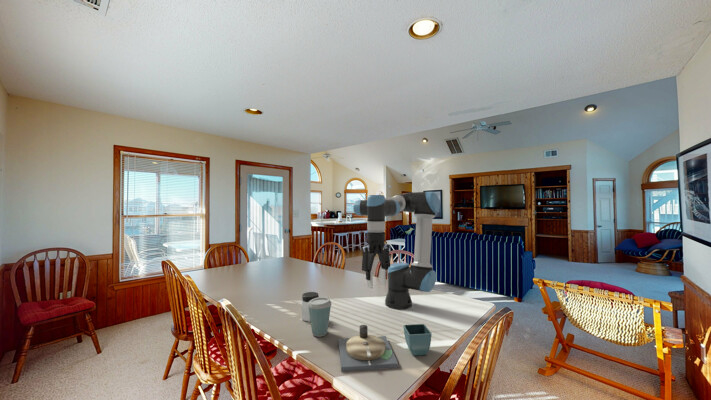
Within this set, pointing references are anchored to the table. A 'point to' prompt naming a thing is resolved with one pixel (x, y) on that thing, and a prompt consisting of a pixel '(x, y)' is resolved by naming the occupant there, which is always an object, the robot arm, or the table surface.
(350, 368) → the tuner base
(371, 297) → the table surface
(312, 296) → the jar
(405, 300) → the robot arm
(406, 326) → the flower pot
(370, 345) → the dial
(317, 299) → the disposable coffee cup
